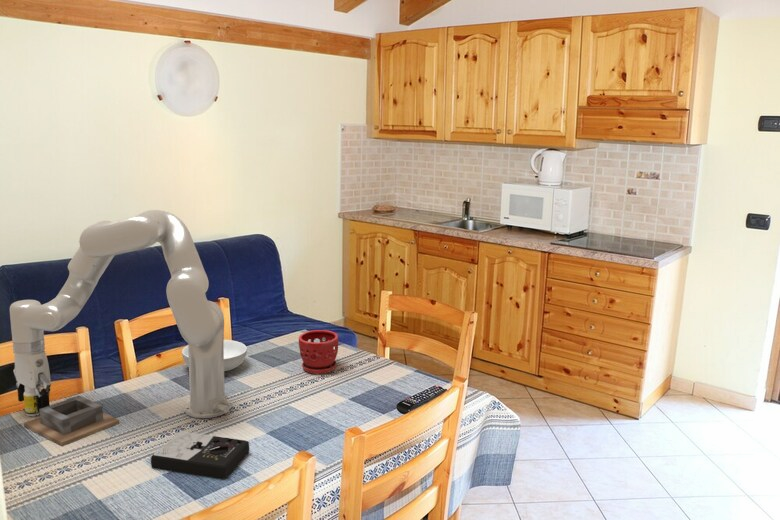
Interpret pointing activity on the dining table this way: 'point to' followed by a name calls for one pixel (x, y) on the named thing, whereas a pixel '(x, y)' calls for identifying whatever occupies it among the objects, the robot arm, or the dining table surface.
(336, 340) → the plant pot
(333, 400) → the dining table surface
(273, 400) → the dining table surface
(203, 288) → the robot arm
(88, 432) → the pocket board
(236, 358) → the serving bowl
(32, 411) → the supplement bottle
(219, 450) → the multimeter
